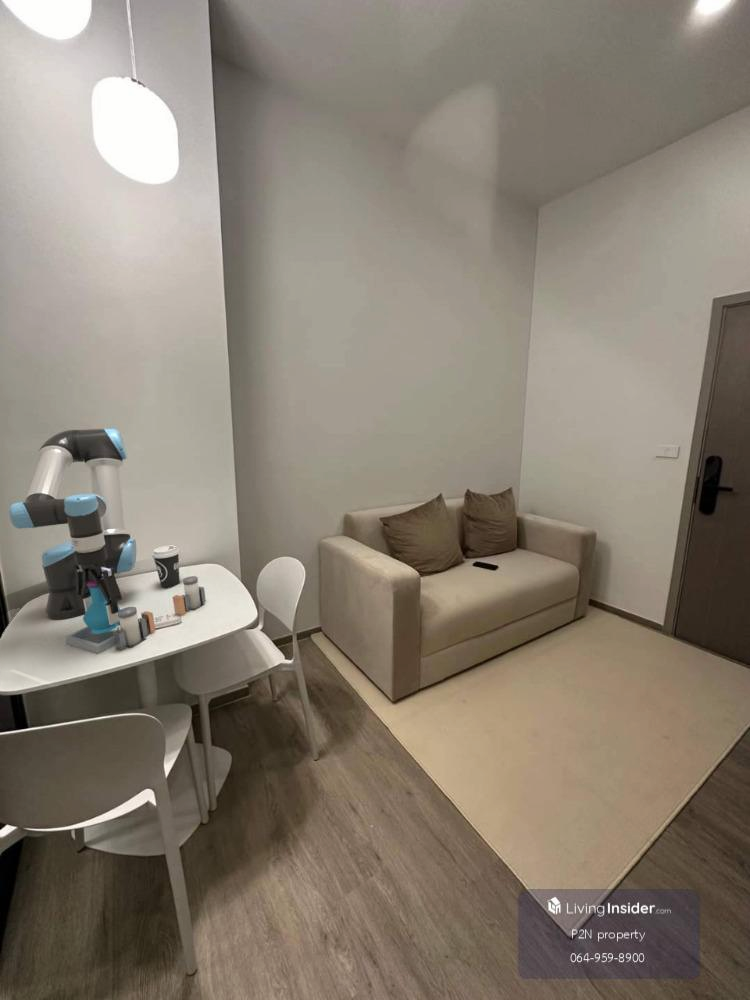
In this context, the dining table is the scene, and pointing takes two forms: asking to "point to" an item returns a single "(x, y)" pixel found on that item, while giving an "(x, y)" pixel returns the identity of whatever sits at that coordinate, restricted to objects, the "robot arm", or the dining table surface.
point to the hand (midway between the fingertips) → (103, 619)
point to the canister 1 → (130, 625)
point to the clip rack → (148, 621)
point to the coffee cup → (167, 565)
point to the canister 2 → (192, 591)
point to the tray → (87, 645)
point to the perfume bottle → (97, 611)
